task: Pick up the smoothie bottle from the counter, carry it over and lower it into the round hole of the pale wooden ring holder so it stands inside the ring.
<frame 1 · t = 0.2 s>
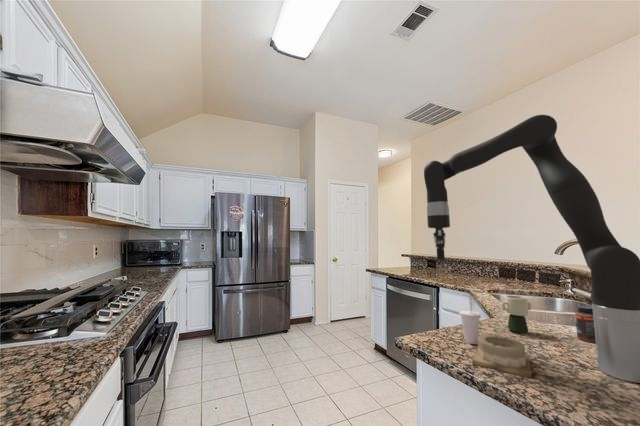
hand: (440, 259, 97), 28 cm above the countertop, tool pointing down, fingers open, 8 cm apart
smoothie: (471, 342, 91), on the countertop
supplement bottle: (589, 340, 93), on the countertop
character mug: (518, 332, 102), on the countertop
bottle holder: (501, 361, 76), on the countertop
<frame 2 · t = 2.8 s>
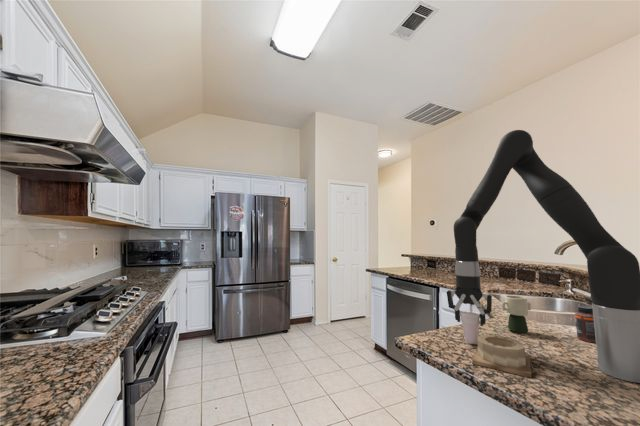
hand: (470, 323, 92), 6 cm above the countertop, tool pointing down, fingers closed on smoothie, 6 cm apart
smoothie: (471, 342, 91), on the countertop, touching gripper
everything else where it was.
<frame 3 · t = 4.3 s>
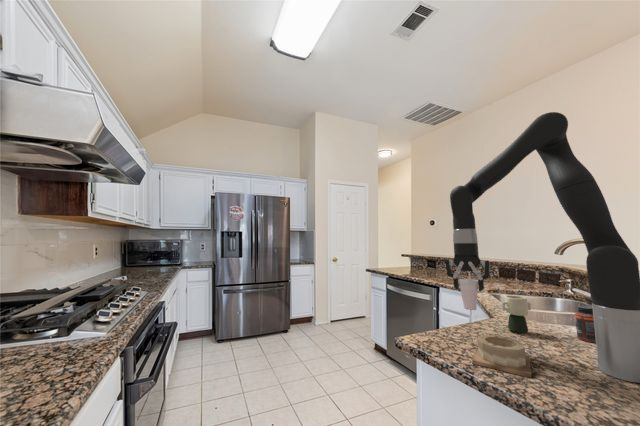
hand: (468, 290, 93), 17 cm above the countertop, tool pointing down, fingers closed on smoothie, 6 cm apart
smoothie: (470, 309, 92), point 11 cm above the countertop, touching gripper
everything else where it was.
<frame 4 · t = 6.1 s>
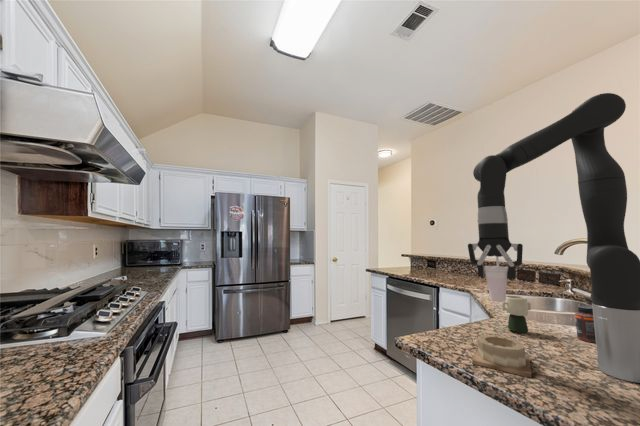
hand: (496, 278, 79), 23 cm above the countertop, tool pointing down, fingers closed on smoothie, 6 cm apart
smoothie: (498, 301, 78), point 17 cm above the countertop, touching gripper
everything else where it was.
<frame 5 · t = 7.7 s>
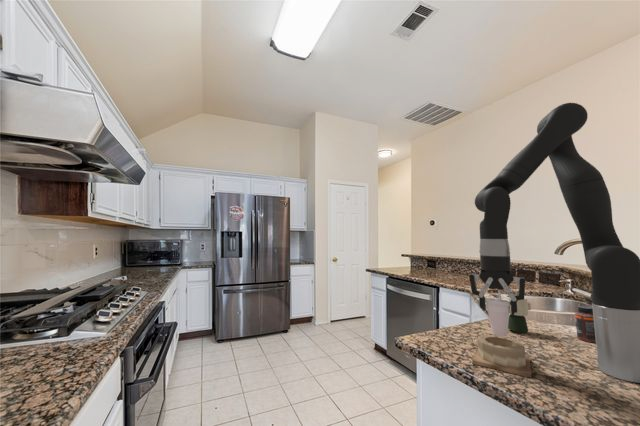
hand: (498, 311, 78), 14 cm above the countertop, tool pointing down, fingers closed on smoothie, 6 cm apart
smoothie: (499, 334, 77), point 7 cm above the countertop, touching gripper
everything else where it was.
when the fingers open (9 cm above the countertop, at t = 9.3 s): smoothie drops 1 cm, resting on bottle holder.
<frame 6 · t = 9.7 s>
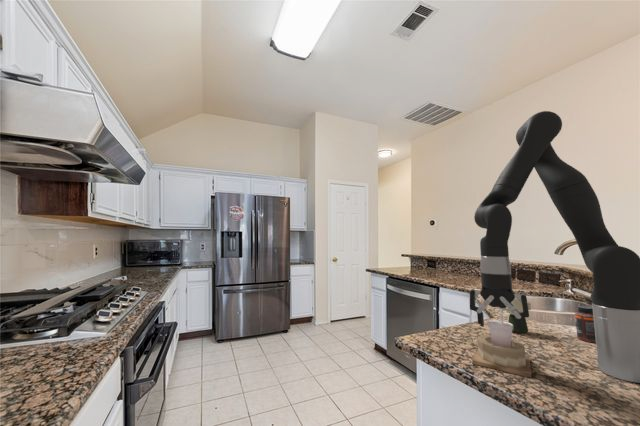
hand: (499, 328, 77), 9 cm above the countertop, tool pointing down, fingers open, 8 cm apart
smoothie: (502, 358, 76), point 1 cm above the countertop, touching bottle holder
everything else where it was.
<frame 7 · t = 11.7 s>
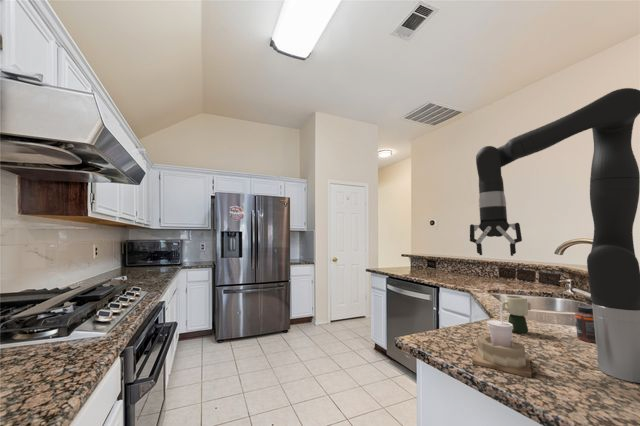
hand: (495, 255, 87), 30 cm above the countertop, tool pointing down, fingers open, 8 cm apart
nothing on the countertop moved.
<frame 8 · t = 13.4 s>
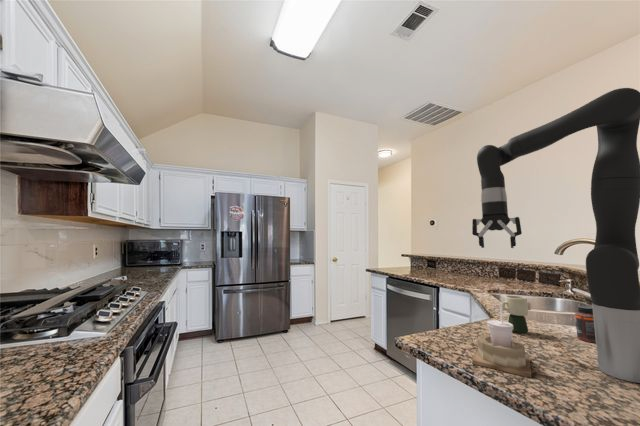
hand: (497, 247, 92), 32 cm above the countertop, tool pointing down, fingers open, 8 cm apart
nothing on the countertop moved.
at the end: smoothie 0.2 cm from the bottle holder (horizontally); smoothie tilted 0°; smoothie point 0.8 cm above the countertop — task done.
